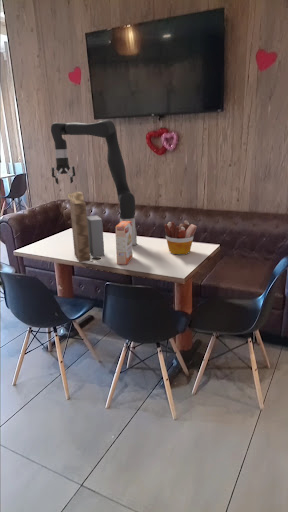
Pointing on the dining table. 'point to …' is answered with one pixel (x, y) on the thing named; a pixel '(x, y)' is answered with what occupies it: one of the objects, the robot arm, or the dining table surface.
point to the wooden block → (80, 231)
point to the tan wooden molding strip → (76, 197)
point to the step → (95, 236)
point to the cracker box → (124, 242)
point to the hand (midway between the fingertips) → (64, 183)
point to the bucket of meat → (179, 237)
